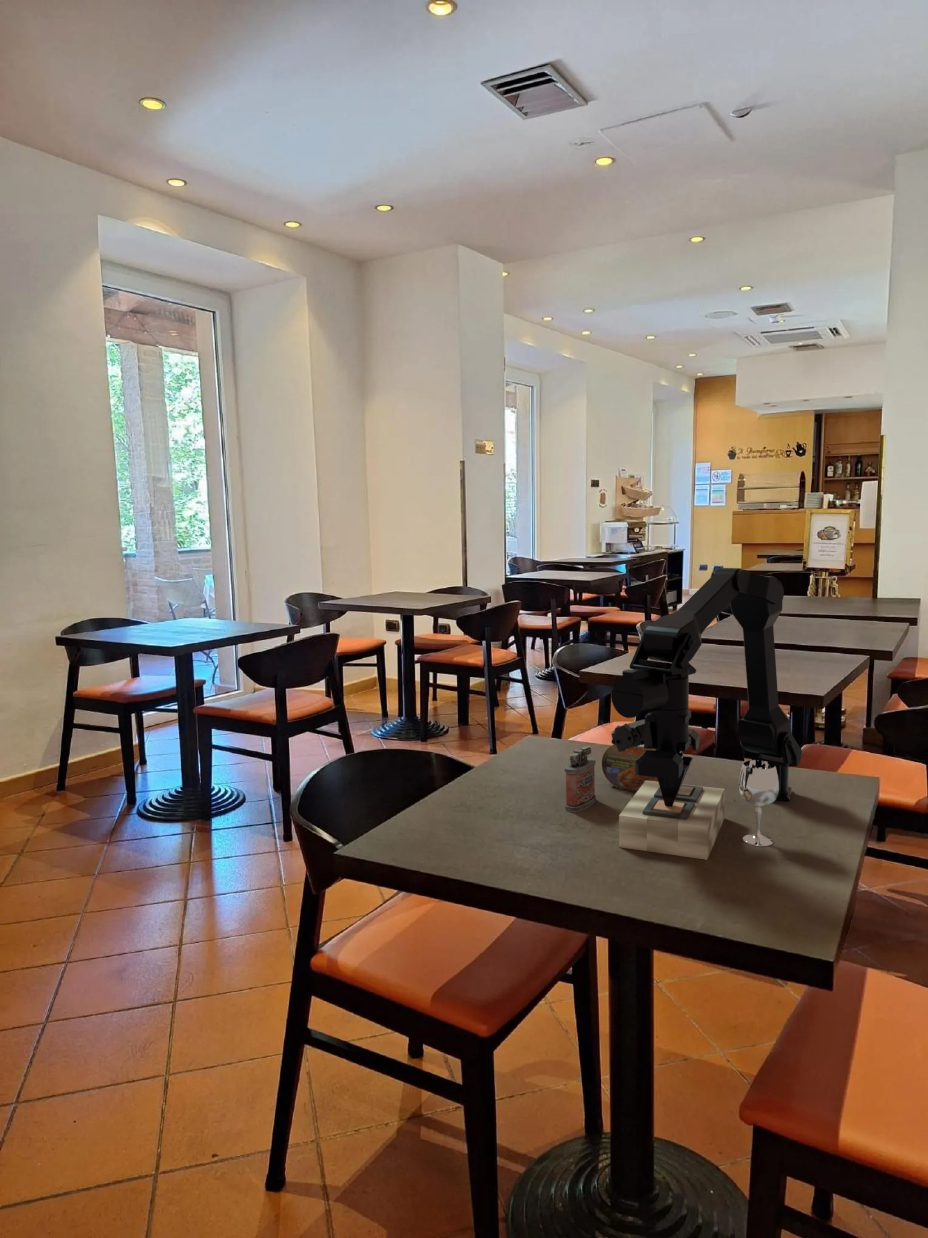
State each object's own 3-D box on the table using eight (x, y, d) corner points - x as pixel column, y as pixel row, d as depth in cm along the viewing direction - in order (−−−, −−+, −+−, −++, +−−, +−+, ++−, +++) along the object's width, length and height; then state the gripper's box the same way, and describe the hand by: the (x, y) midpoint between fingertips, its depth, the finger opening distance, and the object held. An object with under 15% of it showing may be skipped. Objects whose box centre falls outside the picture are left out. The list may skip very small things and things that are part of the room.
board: (645, 808, 140) (645, 777, 139) (724, 818, 134) (724, 786, 134) (619, 847, 124) (619, 812, 123) (707, 859, 118) (707, 823, 118)
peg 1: (658, 832, 128) (658, 800, 127) (684, 835, 126) (684, 803, 126) (653, 841, 124) (653, 808, 124) (679, 844, 123) (679, 811, 122)
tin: (601, 785, 153) (600, 741, 152) (608, 780, 156) (608, 737, 155) (677, 799, 144) (677, 752, 143) (684, 794, 147) (684, 748, 146)
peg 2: (668, 815, 135) (668, 784, 135) (693, 818, 133) (693, 787, 133) (663, 823, 132) (663, 792, 131) (689, 826, 130) (689, 795, 129)
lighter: (577, 813, 139) (577, 756, 137) (560, 809, 141) (559, 753, 139) (600, 800, 145) (599, 745, 144) (583, 796, 147) (582, 742, 146)
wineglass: (753, 850, 121) (754, 772, 120) (730, 836, 127) (731, 761, 125) (786, 845, 123) (787, 767, 121) (762, 831, 128) (763, 757, 127)
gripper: (631, 690, 135) (631, 782, 137) (600, 716, 118) (601, 819, 120) (700, 695, 130) (699, 789, 132) (678, 722, 113) (678, 829, 115)
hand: (669, 805), depth 125 cm, fingers closed, pressing on peg 1
